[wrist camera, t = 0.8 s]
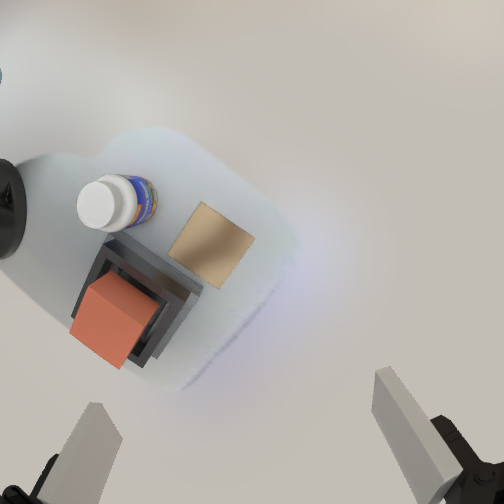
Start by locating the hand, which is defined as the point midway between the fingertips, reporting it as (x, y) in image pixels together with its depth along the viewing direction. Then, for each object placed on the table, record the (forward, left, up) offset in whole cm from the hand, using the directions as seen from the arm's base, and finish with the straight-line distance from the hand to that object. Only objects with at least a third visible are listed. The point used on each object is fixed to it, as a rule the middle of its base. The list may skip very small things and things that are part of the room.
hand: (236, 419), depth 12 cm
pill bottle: (-15, 0, -22) cm, 27 cm away
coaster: (-5, +1, -22) cm, 22 cm away
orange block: (-9, -9, -16) cm, 21 cm away
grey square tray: (-9, -9, -22) cm, 25 cm away
